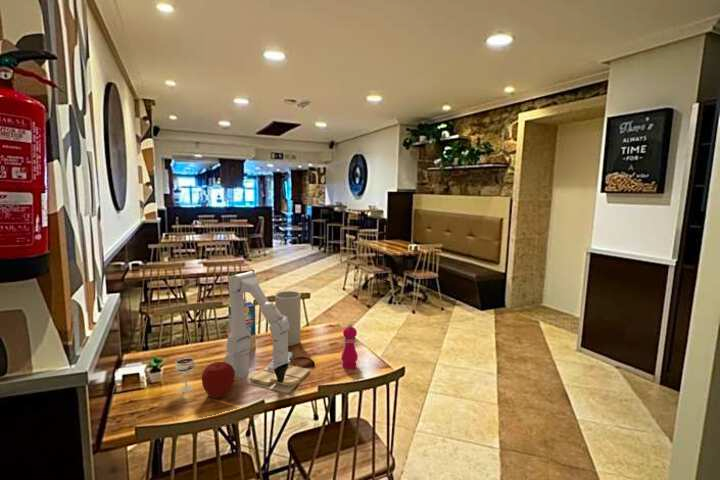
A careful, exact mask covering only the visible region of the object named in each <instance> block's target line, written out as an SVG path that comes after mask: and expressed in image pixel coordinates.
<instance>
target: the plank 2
mask: <svg viewBox="0 0 720 480" xmlns="http://www.w3.org/2000/svg"><path fill="white" fill-rule="evenodd" d="M270 382H275V383H279V384H283V385H288V386H291V385H293V384H296V383H298V382H299V383H300V382H301V381H300V379H299V378H295V377H290V376H286V375H285V376H284V381H283V382H282V383H281V382H278V380H277V377H273V378H270ZM299 383H298V384H299Z"/></svg>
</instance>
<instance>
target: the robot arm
mask: <svg viewBox="0 0 720 480" xmlns="http://www.w3.org/2000/svg"><path fill="white" fill-rule="evenodd" d="M227 282H228V293H229V305H230V307H231V319H232V332H231V334H230V335H229V334H228V336H227V342H226V351H227V353H226V355H225V359H224V362H225V363H228V364H230V365H231V366H233V368H234V371H235V377H237V378H244V377H246V376H247V375H248V374H250V373H252V372H253V371H254V368H252V367H250V352H251V350H250V348H251V347H252V346H253V340H252V338H251V333H250V332H249V331H247V330H246V325H245V312H244V303H245V300H244V293H249V294H250V296H252V297H253V299H254V300H255V301H256V303H258V305H259V306H260V313H261V314H262V315H263V317H264V318H265V319H266V321H267V323H268V325H269V326H268V328H269V331H270V333H271V338H272V360H271V362H270V365H269V364H268V365H269V366H268V365H267V366H268V372H273V371H274V372H275V374H276V377H277V380H278V382H281V383H282V382H283V381H284V376H285V373H286V370H287V368H288V366H289V365H290V363H291V361H290V360H289V359H290V358H292V353H291V352H290V351H289V346H288V330H290V328H291V322H290V320H289V318H288V317H286V316H284V315H281V313H280V312H279V310H278V309H277V308H276V306H275V302H271V301H269V299H268V298H267V296H266V295H265V293H264V291H263V289H262V288H261V286H260V285H259V278H258V276H257V274H256V273H255V272H254V271H252V270H249V271H246V272H242V273H238V274H233V275H231V276H230V277H229V278H228V281H227Z"/></svg>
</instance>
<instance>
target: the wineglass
mask: <svg viewBox="0 0 720 480" xmlns="http://www.w3.org/2000/svg"><path fill="white" fill-rule="evenodd" d="M194 360H195V357H194V356H190V355H188V356H180V357H179V358H176V359H175V369H176V372H178V373H180V374H183V375H184V386H181V387H180V388H179V391H178V392H180V393H189V392H191V391H193V389H194V387H193V385H188V383H187V380H188V377H187V376H188V375H187V374H188V373H191V372H192V371H193V370H194V368H195V365H196V363H195V361H194Z"/></svg>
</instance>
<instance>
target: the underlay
mask: <svg viewBox="0 0 720 480" xmlns="http://www.w3.org/2000/svg"><path fill="white" fill-rule="evenodd" d="M261 371H263V369H262V370H261ZM311 372H312V371H311V370H310V372H309V373H308V374H310V373H311ZM308 374H307V375H308ZM299 383H300V382H298V383H296V384H293V385H291V386H288V385H283V384H279V383H275V382H272V383H271V384H270V385H265V384H260V383H256V382H252V381H250V379H249V380H248V381H247V382H246V384H248V385H251V386H252V385H253V386H256V387H257V386H258V387H261V388H264V389H269V390H273V391H278V392H282V393H287V394H288V393H290V392H292V390H293V389H294V388H295V387H296V386H297V385H298V384H299Z"/></svg>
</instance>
